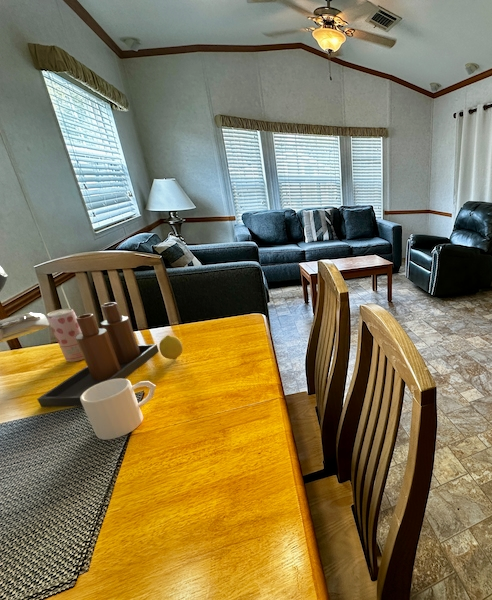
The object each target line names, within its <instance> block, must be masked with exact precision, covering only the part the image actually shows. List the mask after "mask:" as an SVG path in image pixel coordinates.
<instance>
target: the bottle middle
mask: <svg viewBox="0 0 492 600" xmlns="http://www.w3.org/2000/svg"><path fill="white" fill-rule="evenodd" d="M76 320H77V322H78V325H79V327H80V330H81V332H82V333H80V334H78V335H77V336H76V340H77V343H78V345H79V348H80V350H81V352H82V355H83V357H84V359H83V360H84V362H85V364H86V366H87V367H88V369H89V371H90V374H91V376H92V379H93V380H96V381H100V380H106V379H109V378H111V377H112V376H113V375H115V374H116V373H117V372H119V371H120V370H121V367H120V365H119V362H118V359H117V357H116V354H115V352H114V349H113V346H112V344H111V341H110V338H109V336H108V333H107V330H106V329H103V328H102V327H101V328H99V326H98V324H97V322H96V319H95V317H94V314H93V313H85V314H81V315H77V316H76Z"/></svg>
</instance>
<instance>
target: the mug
mask: <svg viewBox="0 0 492 600" xmlns="http://www.w3.org/2000/svg"><path fill="white" fill-rule="evenodd" d="M142 387H147V388H148V390H149V391H148V394H147V395H146V396H145V397H144V398H143V399H142V400H140V401H139V402H138V399H137V396H136V394H135V390H136V389H138V388H142ZM156 387H157V385H156V384H154V383H153V382H151V381H149V380H142V381H138V382H136V383H135V384H133V385H132V383H131V380H129V379H127V378H125V379H122V378H120V379H112V380H107V381H104V382H101V383H99V384H96V385H94V386H92V387H90V388H89V389H87V390H86V391H85V392H84V393H83V394H82V395H81V397H80V401H81V403H82V405H83V406H82V408H83V410H84V412H85V414H86V416H87V418H88V421H89V423H90V426H91V428H92V429H93V432H94V434H95V436H96V437H97V438H98V439H99V440H104V441H106V440H108V441H109V440H113V439H118V438H120V437H123V436H126V435H127V434H129V433H131V432H133V431H135V429H137V428H138V427H139V426H140V425H141V424H142V422H143V420H144V416H143V413H142V410H141V407H142V406H144V405H146V404H147V403H148V402H149V401H151V400H152V399H153V397H154V394H155V391H156Z"/></svg>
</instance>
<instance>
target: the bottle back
mask: <svg viewBox="0 0 492 600" xmlns="http://www.w3.org/2000/svg"><path fill="white" fill-rule="evenodd" d="M101 309H102V311H103V314H104V317H105V320H102V321H101V322H100V325H101V329H106V330H107V333H108V336H109V338H110V341H111V344H112V346H113V349H114V352H115V354H116V357H117V359H118V362H119V364H125V363H129V362H132V361H133V360H134V359H136V358H137V357H138V356H140V355H141V353H140V350H139V347H138V345H139V344H138V342H137V339H136V335H135V333H134V330H133V327H132V324H131V321H130V318H129V317H128V316H127V315H122V314H121V312H120V309H119V305H118V303H117V302H116V301H109V302H106V303H103V304H101Z"/></svg>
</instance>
